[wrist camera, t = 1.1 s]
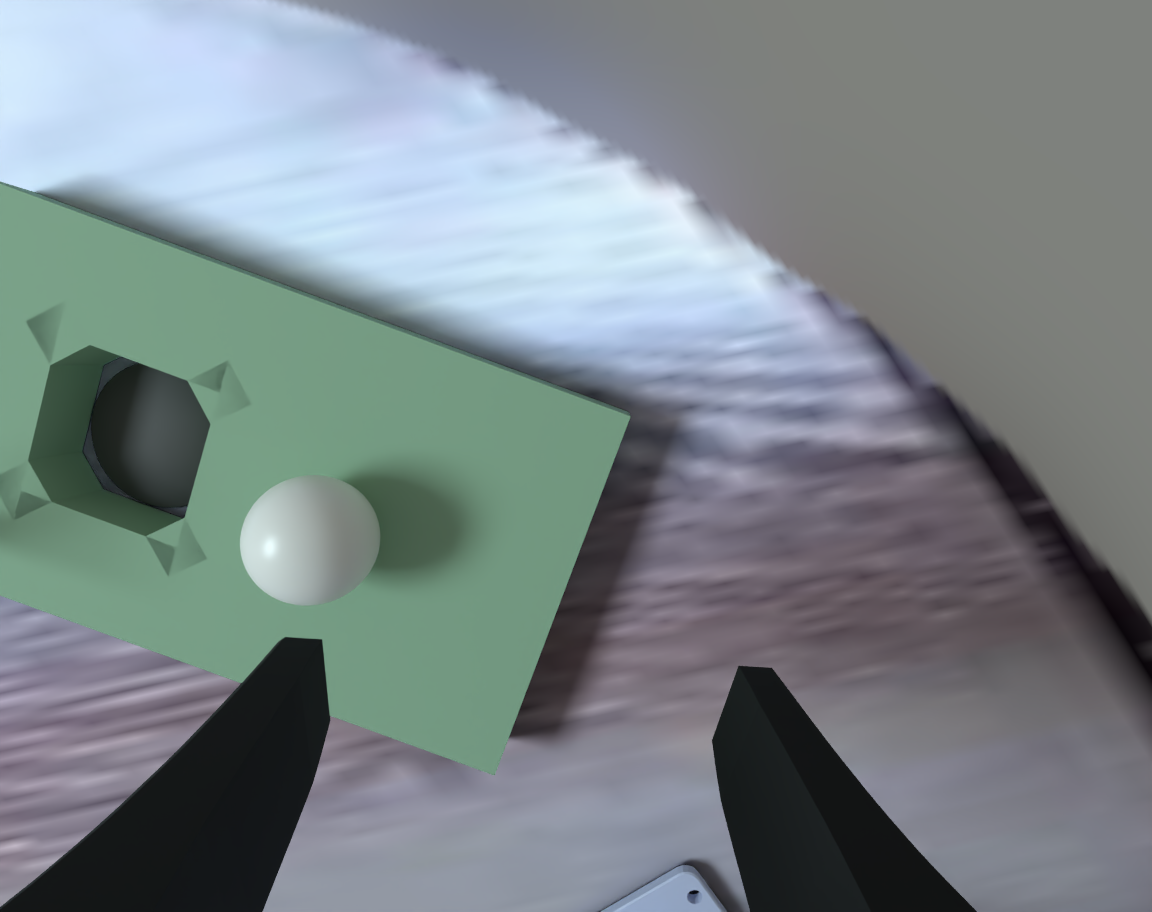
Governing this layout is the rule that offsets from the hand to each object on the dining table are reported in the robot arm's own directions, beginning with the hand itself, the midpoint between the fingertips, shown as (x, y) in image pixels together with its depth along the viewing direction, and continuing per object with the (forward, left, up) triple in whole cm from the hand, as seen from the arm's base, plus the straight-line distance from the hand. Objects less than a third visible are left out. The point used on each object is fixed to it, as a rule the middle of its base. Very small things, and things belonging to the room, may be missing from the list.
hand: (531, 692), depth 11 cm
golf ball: (+5, +5, -6) cm, 9 cm away
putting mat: (+7, +7, -10) cm, 14 cm away
